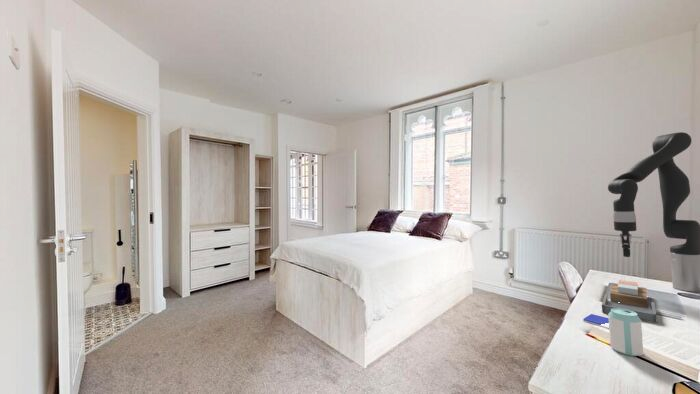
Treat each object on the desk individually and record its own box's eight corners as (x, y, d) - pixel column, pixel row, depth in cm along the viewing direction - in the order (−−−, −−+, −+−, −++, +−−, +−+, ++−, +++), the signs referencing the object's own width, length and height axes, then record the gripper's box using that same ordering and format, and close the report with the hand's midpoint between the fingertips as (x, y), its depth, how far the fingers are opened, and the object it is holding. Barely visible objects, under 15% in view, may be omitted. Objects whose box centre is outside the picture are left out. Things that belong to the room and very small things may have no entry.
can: (609, 342, 87) (606, 305, 87) (640, 349, 83) (638, 310, 83) (611, 352, 82) (609, 313, 82) (645, 360, 77) (642, 318, 77)
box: (605, 301, 119) (604, 294, 120) (654, 309, 109) (654, 302, 109) (602, 312, 109) (601, 305, 109) (656, 323, 98) (656, 314, 98)
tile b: (618, 288, 123) (618, 283, 123) (637, 291, 118) (637, 286, 118) (618, 292, 119) (617, 286, 119) (638, 295, 114) (637, 289, 114)
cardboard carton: (613, 291, 131) (612, 283, 131) (646, 296, 123) (646, 287, 123) (610, 302, 118) (610, 293, 118) (647, 308, 110) (647, 298, 110)
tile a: (619, 285, 127) (619, 280, 127) (637, 287, 123) (637, 282, 123) (618, 288, 123) (618, 283, 123) (638, 291, 119) (637, 285, 119)
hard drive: (636, 324, 96) (591, 313, 106) (628, 331, 92) (583, 318, 102) (636, 329, 96) (591, 317, 106) (629, 335, 92) (583, 322, 102)
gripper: (636, 222, 122) (638, 259, 121) (635, 219, 132) (638, 253, 131) (612, 221, 127) (615, 257, 127) (614, 219, 137) (616, 252, 137)
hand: (626, 255), depth 129 cm, fingers open, 6 cm apart
